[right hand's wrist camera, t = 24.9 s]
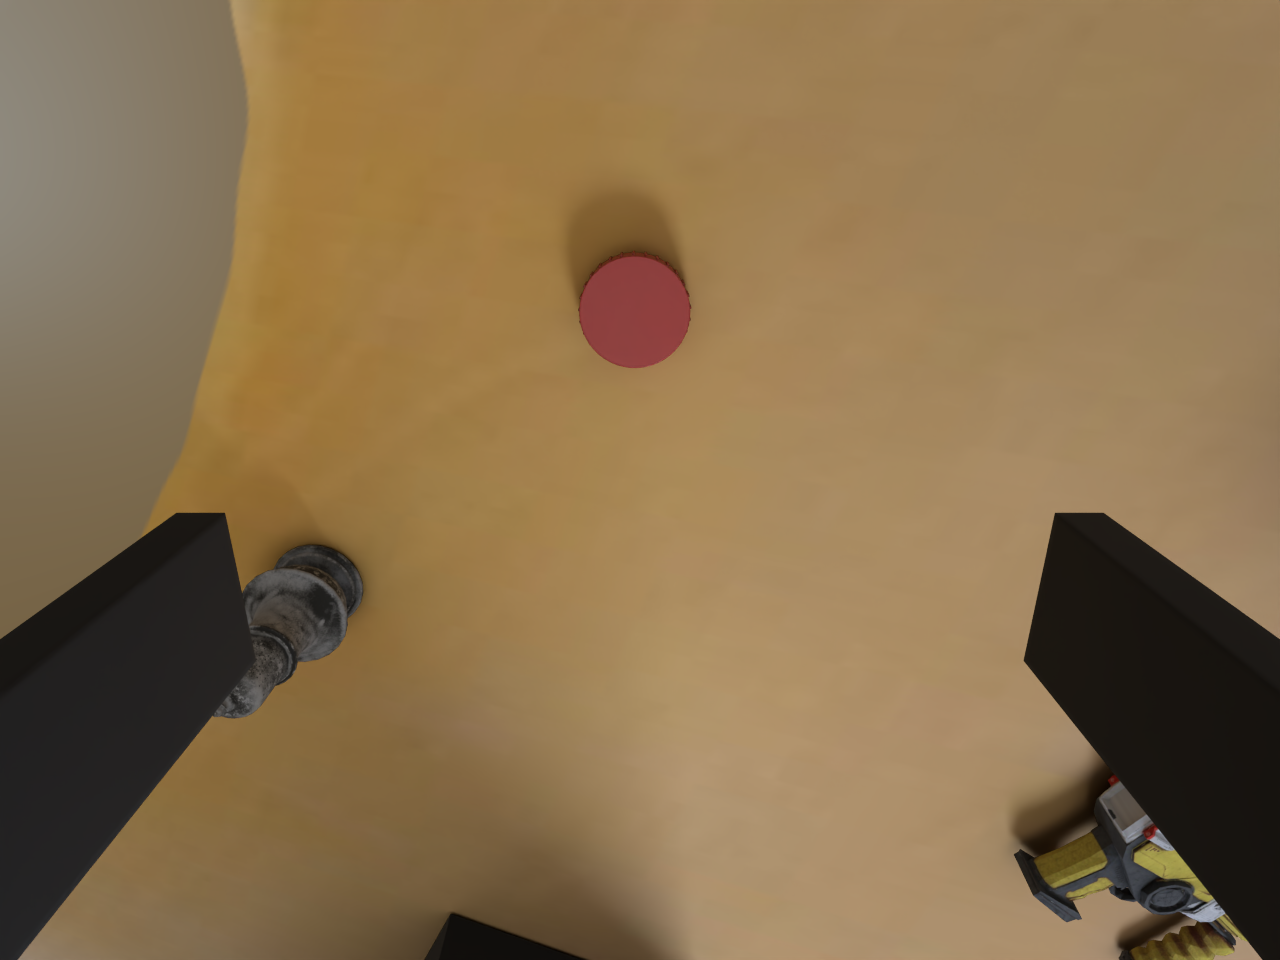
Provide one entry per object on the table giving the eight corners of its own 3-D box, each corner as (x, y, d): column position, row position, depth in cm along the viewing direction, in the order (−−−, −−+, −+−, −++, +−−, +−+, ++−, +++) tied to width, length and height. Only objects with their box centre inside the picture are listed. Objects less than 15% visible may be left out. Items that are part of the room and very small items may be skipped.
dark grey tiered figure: (255, 604, 46) (132, 739, 35) (284, 524, 44) (165, 640, 33) (349, 642, 47) (259, 785, 36) (382, 565, 45) (297, 691, 34)
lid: (638, 382, 42) (638, 391, 40) (558, 310, 40) (554, 317, 38) (711, 303, 40) (715, 309, 38) (630, 226, 39) (630, 229, 37)
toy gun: (1234, 1053, 56) (1429, 951, 51) (998, 935, 50) (1189, 804, 45) (1193, 986, 61) (1370, 885, 55) (971, 869, 55) (1143, 742, 49)
